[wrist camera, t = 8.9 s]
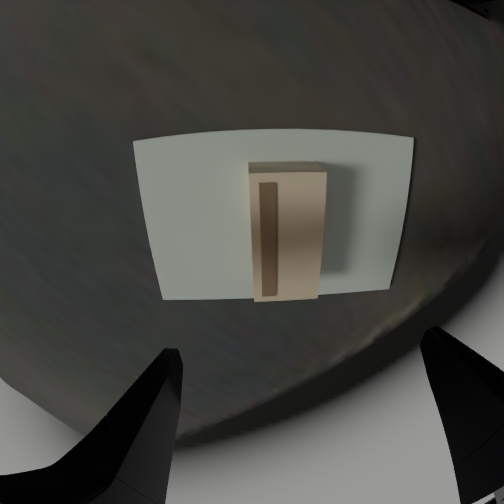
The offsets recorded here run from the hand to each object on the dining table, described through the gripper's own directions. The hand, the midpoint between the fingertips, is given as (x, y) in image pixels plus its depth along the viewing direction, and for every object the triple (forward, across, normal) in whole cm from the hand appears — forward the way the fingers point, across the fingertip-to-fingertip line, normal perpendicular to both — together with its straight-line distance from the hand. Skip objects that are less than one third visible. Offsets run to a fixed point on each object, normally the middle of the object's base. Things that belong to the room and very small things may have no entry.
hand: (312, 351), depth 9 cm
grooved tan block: (+11, 0, 0) cm, 11 cm away
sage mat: (+11, 0, 0) cm, 11 cm away
